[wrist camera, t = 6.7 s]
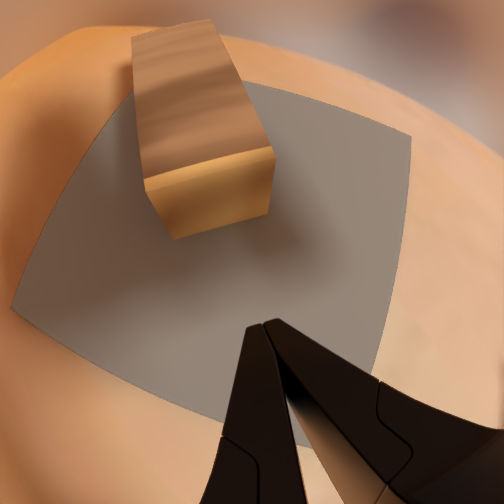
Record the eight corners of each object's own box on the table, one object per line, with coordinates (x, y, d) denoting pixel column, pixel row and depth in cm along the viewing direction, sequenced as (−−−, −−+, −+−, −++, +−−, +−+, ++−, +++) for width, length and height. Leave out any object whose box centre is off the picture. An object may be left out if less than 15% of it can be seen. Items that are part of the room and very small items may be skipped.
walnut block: (276, 157, 11) (210, 18, 15) (145, 192, 11) (131, 37, 14) (267, 214, 16) (214, 73, 19) (173, 240, 15) (147, 90, 19)
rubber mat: (336, 449, 13) (341, 454, 12) (18, 310, 15) (10, 308, 14) (407, 143, 19) (411, 136, 18) (154, 73, 21) (152, 66, 20)
